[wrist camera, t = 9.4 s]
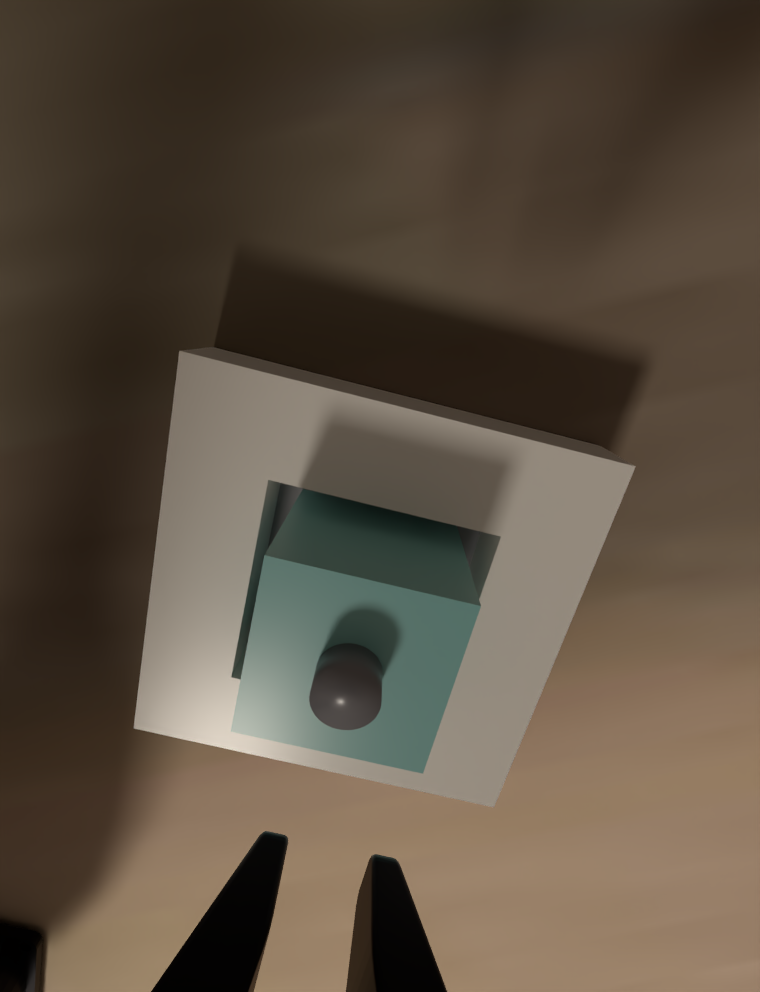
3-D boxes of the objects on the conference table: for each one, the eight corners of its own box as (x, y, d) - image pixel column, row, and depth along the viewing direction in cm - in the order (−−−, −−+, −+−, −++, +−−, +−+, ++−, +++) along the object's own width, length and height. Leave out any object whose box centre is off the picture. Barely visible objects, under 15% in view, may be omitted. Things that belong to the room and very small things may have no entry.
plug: (416, 656, 18) (424, 808, 12) (274, 623, 18) (217, 763, 12) (456, 525, 17) (488, 630, 11) (302, 488, 16) (252, 576, 11)
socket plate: (482, 749, 20) (493, 807, 17) (166, 678, 19) (133, 728, 17) (600, 445, 16) (635, 466, 14) (213, 347, 15) (179, 350, 13)
